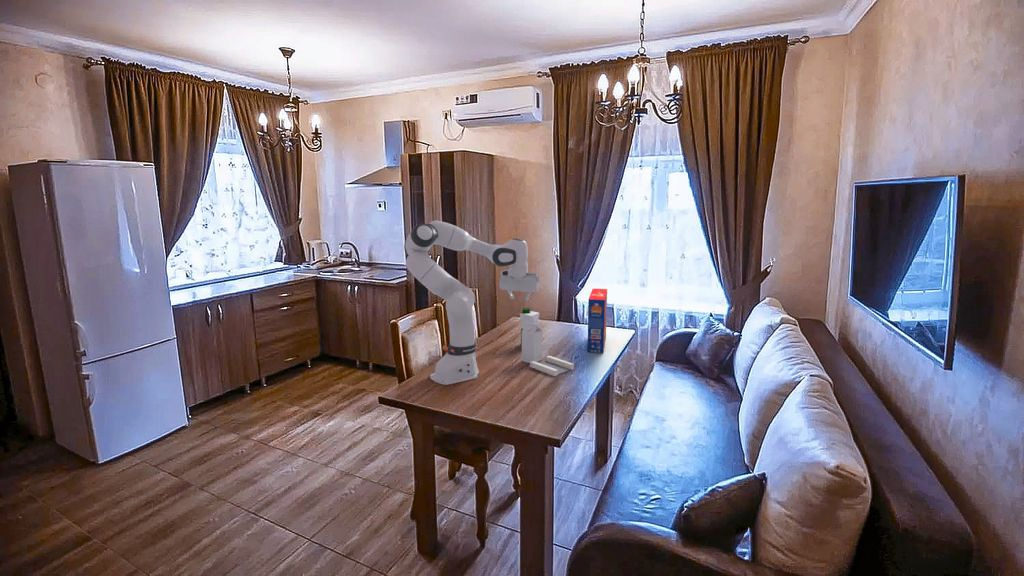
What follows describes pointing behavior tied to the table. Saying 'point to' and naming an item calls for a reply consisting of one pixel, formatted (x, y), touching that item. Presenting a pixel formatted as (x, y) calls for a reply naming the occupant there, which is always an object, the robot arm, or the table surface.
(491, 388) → the table surface
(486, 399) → the table surface
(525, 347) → the milk carton
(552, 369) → the cradle
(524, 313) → the soya milk
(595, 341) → the pasta box
